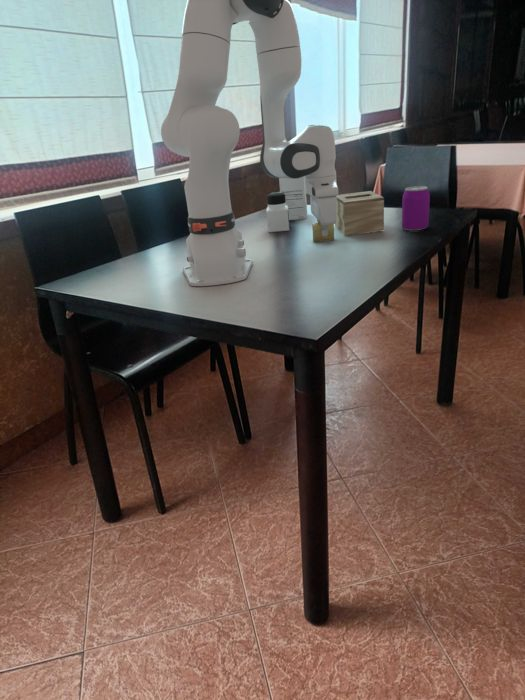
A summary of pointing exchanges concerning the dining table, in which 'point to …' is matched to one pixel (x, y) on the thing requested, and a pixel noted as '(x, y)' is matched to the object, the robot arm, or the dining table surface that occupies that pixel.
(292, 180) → the supplement box
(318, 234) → the yellow block
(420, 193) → the beverage can
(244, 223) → the dining table surface
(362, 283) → the dining table surface
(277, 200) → the medicine bottle
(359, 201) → the coin box
